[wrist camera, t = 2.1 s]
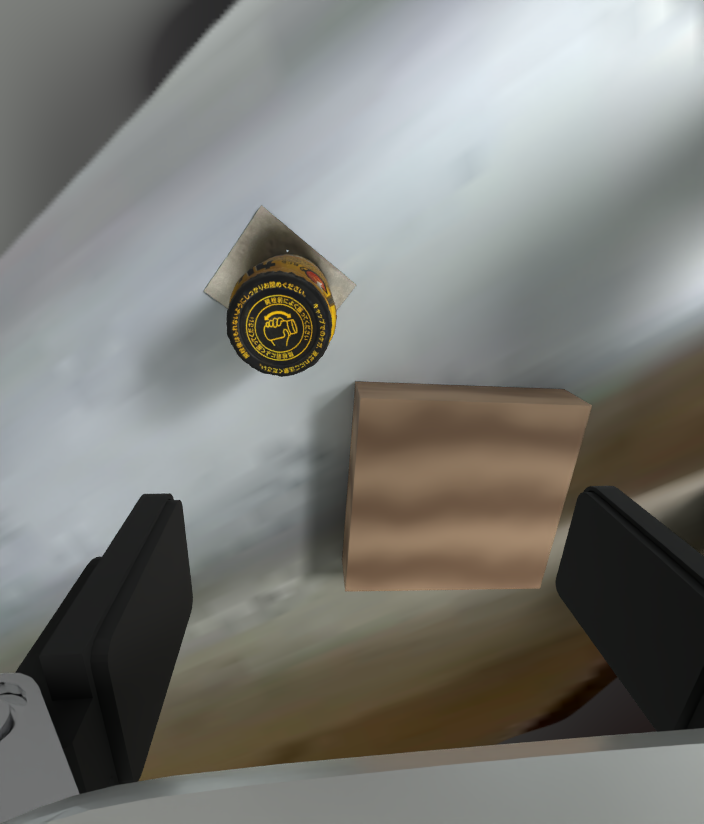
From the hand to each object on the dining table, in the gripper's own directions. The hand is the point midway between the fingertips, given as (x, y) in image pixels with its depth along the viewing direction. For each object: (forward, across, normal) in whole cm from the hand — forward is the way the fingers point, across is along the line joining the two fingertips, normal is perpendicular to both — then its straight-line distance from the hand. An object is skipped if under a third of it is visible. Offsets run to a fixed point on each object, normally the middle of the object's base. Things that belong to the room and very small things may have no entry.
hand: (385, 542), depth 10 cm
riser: (+25, -11, +13) cm, 31 cm away
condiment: (+26, +4, -3) cm, 26 cm away
